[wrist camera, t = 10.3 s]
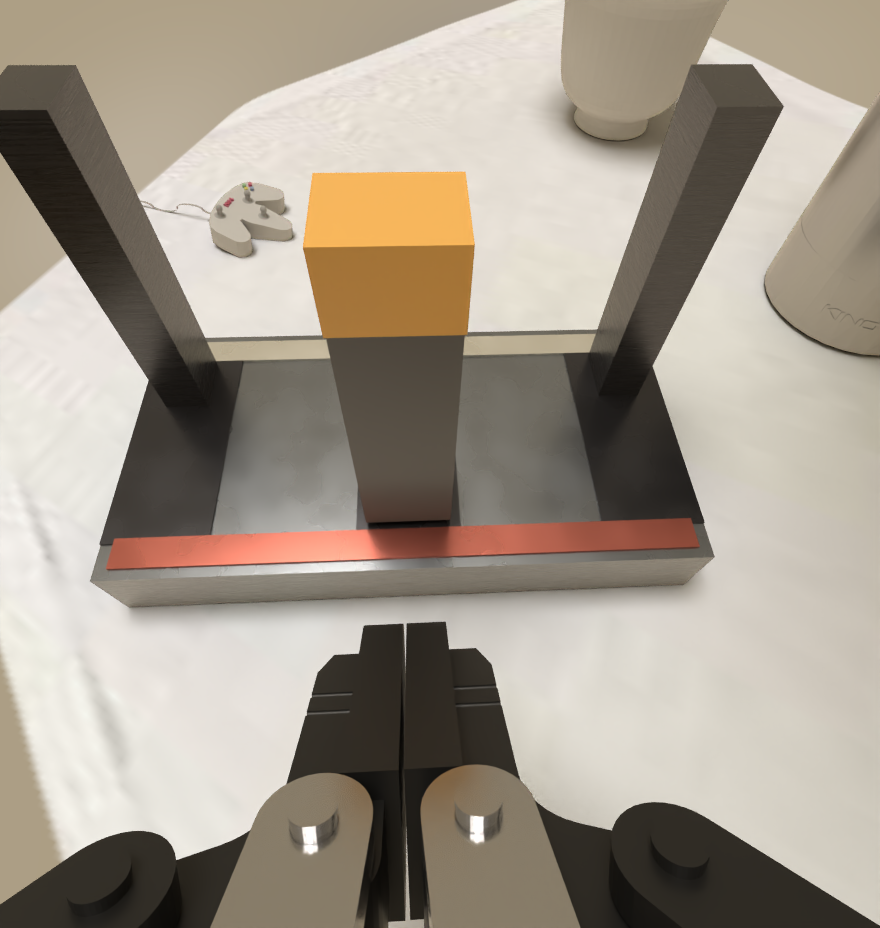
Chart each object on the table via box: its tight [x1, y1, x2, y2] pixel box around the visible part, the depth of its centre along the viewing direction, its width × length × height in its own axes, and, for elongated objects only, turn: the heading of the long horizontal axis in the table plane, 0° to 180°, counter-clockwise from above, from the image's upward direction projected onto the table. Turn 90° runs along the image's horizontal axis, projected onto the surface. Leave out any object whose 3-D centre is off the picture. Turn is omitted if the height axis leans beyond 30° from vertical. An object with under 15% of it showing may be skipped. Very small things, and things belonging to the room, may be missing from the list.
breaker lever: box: [303, 172, 475, 523], centre depth 16 cm, size 2×3×12 cm
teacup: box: [561, 0, 728, 141], centre depth 40 cm, size 12×15×10 cm
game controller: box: [140, 182, 293, 258], centre depth 35 cm, size 6×12×3 cm, turn 91°
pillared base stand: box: [0, 64, 784, 607], centre depth 20 cm, size 12×23×15 cm, turn 93°
